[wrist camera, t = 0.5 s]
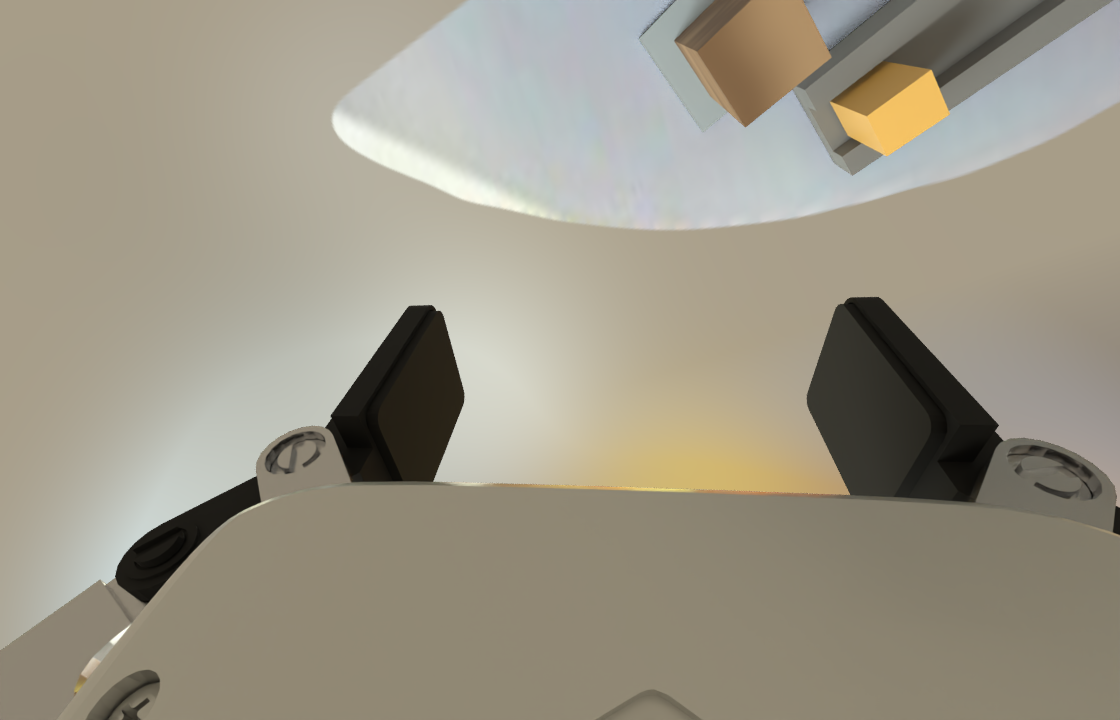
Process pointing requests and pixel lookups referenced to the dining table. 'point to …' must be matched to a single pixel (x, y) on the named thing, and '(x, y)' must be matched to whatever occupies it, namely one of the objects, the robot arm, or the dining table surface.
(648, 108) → the dining table surface
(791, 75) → the wooden block
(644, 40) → the mat
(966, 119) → the dining table surface
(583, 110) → the dining table surface
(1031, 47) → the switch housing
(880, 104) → the switch tab
